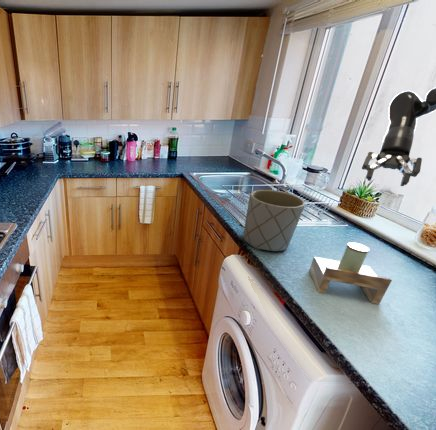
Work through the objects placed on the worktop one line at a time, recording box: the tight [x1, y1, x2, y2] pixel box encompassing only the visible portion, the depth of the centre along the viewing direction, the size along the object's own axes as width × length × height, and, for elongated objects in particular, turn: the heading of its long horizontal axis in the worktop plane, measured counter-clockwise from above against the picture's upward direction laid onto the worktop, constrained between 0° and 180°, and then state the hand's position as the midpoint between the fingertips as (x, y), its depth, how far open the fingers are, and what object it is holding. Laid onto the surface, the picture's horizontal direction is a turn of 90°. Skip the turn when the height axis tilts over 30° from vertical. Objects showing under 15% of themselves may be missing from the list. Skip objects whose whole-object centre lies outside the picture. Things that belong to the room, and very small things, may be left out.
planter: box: [242, 189, 306, 252], centre depth 115 cm, size 19×19×20 cm
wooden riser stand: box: [308, 256, 393, 305], centre depth 92 cm, size 16×12×9 cm
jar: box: [338, 241, 371, 272], centre depth 89 cm, size 6×6×9 cm
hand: (385, 182), depth 96 cm, fingers open, 8 cm apart
